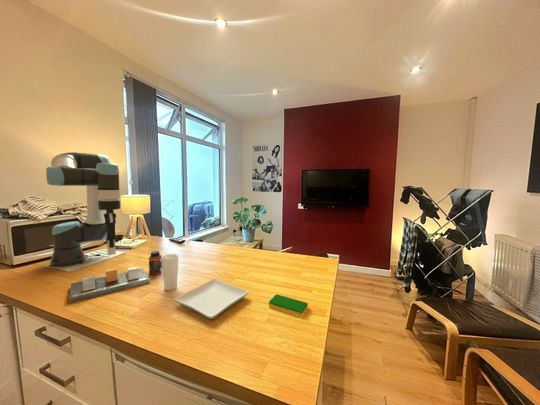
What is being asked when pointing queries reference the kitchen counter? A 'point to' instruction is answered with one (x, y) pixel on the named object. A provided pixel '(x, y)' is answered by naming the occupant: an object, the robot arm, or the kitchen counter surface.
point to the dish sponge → (288, 305)
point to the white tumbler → (170, 271)
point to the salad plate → (211, 298)
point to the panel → (107, 284)
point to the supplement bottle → (155, 263)
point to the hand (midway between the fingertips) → (111, 254)
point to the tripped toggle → (111, 275)
